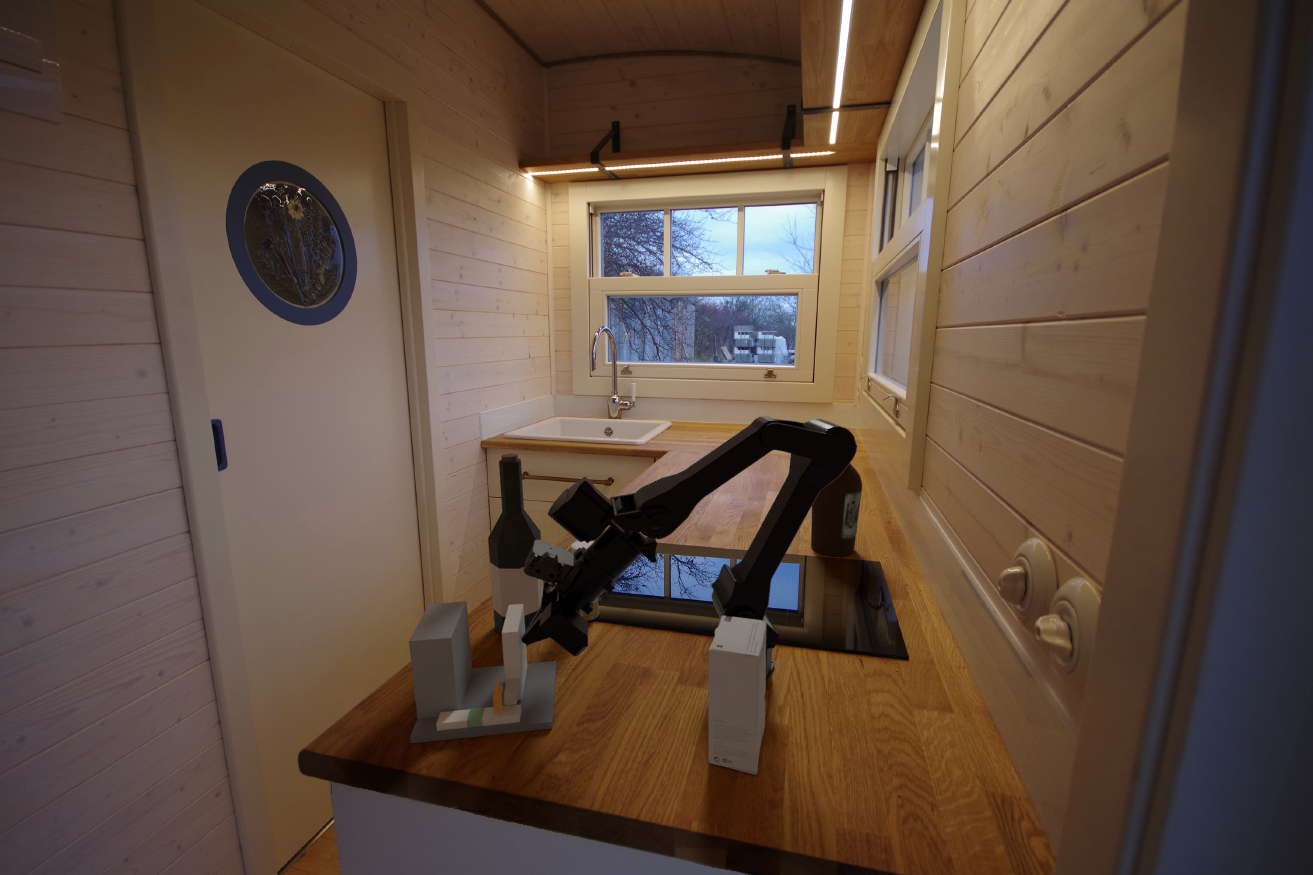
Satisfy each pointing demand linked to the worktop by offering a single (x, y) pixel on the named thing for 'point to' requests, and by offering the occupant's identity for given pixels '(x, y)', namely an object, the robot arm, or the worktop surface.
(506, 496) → the wine bottle
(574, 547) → the sprinkles bottle
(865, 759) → the worktop surface
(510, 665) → the white tall block
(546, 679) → the base
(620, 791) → the worktop surface
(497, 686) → the orange block with rod
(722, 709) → the skincare box
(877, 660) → the worktop surface
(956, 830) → the worktop surface
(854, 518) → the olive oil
